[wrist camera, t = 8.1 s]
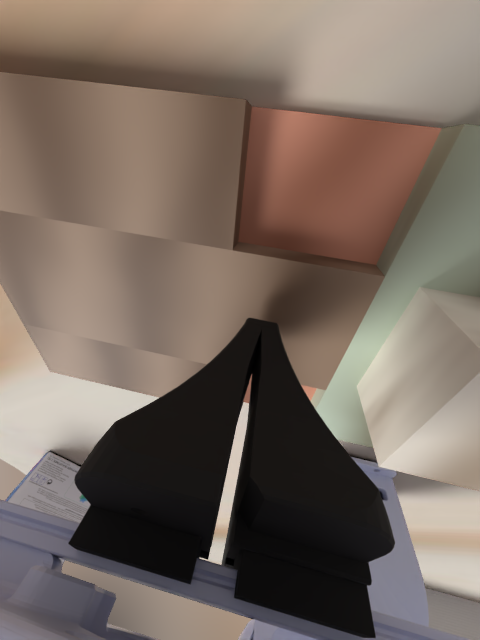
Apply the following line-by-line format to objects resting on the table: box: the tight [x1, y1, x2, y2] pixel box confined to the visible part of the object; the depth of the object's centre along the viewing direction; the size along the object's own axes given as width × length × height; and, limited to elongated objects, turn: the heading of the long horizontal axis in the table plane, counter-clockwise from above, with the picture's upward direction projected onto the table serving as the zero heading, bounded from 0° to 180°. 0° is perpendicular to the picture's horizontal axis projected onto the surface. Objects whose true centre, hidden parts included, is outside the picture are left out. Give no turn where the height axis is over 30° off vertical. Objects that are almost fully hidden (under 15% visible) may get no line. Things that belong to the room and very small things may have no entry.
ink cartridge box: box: [5, 452, 91, 565], centre depth 29 cm, size 10×6×14 cm, turn 50°
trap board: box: [0, 72, 480, 448], centre depth 12 cm, size 28×16×2 cm, turn 84°
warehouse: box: [425, 588, 480, 640], centre depth 38 cm, size 30×14×8 cm, turn 86°
